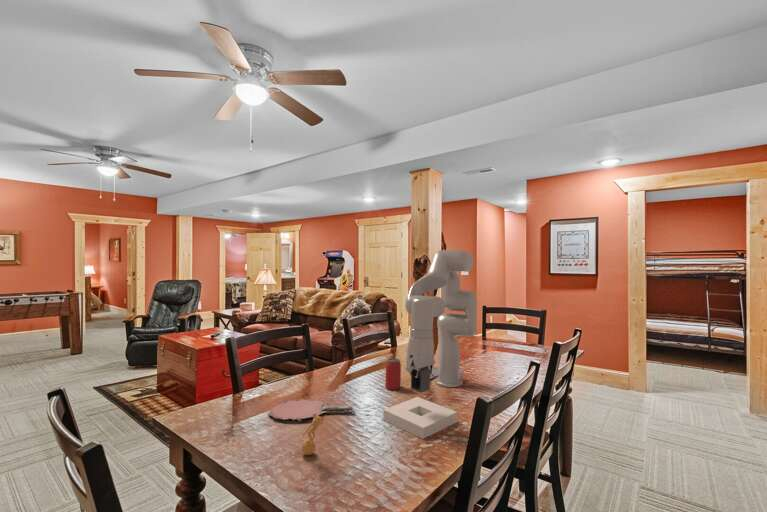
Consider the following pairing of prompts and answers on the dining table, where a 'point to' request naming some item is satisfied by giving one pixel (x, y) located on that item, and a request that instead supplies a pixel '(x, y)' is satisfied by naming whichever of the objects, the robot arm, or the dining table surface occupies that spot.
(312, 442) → the figurine
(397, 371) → the beer can
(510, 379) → the dining table surface
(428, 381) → the plug
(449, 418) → the socket
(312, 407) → the table tennis paddle
